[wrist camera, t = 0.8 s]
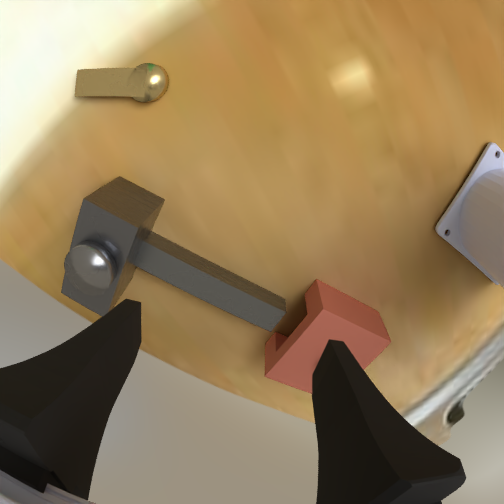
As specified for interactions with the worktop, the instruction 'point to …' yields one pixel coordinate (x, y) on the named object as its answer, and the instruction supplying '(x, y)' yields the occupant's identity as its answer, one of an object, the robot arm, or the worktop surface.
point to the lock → (324, 336)
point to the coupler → (149, 259)
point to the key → (124, 82)
